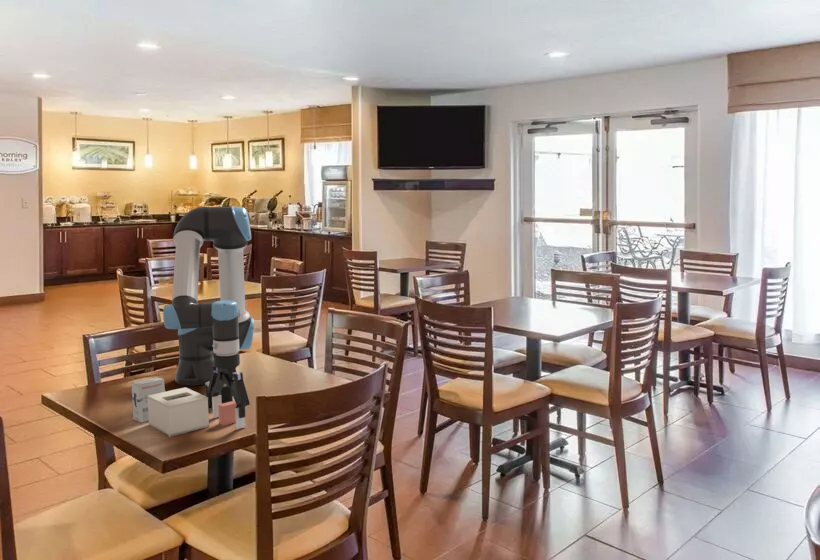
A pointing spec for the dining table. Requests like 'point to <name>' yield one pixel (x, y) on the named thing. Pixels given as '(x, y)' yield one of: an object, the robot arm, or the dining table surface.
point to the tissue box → (178, 411)
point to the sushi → (225, 395)
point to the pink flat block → (227, 413)
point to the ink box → (144, 396)
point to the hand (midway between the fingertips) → (228, 422)
